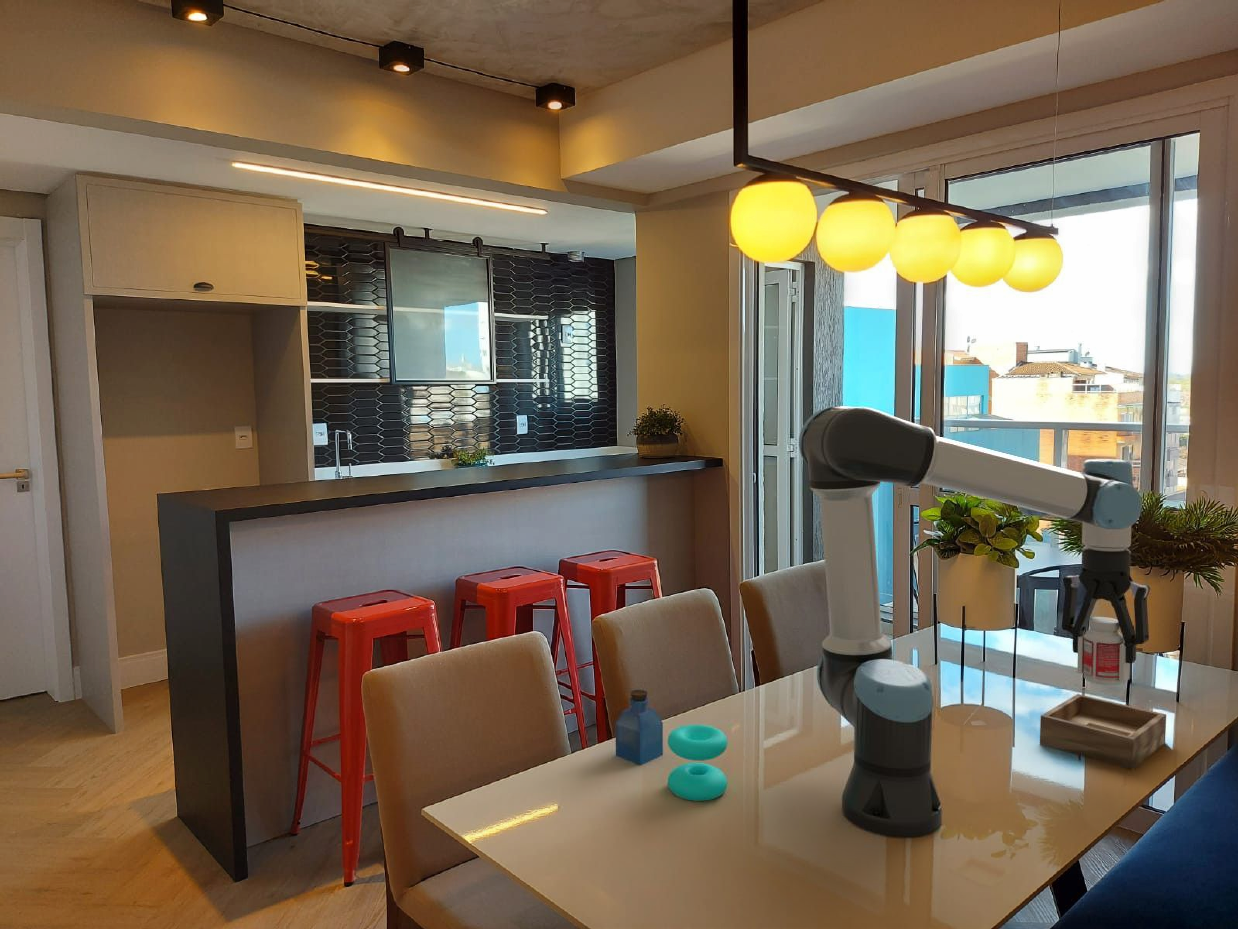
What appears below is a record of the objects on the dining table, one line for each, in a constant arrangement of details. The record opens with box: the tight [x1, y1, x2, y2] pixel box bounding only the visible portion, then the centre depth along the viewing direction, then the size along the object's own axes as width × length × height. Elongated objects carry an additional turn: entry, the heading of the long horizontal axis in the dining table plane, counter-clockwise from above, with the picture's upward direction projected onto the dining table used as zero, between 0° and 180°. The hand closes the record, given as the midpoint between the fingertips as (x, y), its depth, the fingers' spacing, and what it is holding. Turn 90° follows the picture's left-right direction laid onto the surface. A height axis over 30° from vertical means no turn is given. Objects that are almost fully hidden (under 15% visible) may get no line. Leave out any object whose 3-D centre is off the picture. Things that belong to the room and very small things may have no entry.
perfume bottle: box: [614, 689, 664, 766], centre depth 164 cm, size 6×6×12 cm
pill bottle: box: [1083, 616, 1124, 686], centre depth 157 cm, size 6×6×11 cm
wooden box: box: [1039, 693, 1167, 770], centre depth 168 cm, size 18×16×6 cm
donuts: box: [667, 724, 728, 802], centre depth 149 cm, size 10×10×10 cm
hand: (1103, 675), depth 157 cm, fingers closed on pill bottle, 6 cm apart
